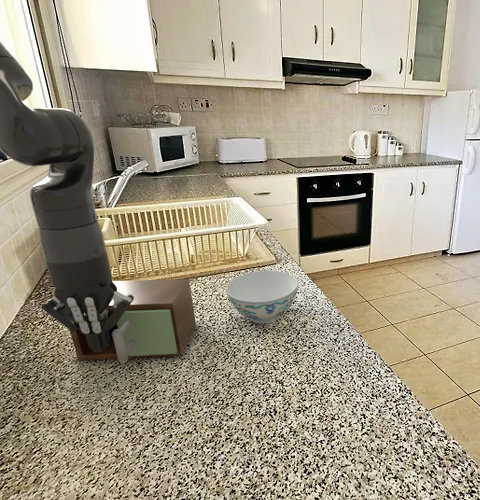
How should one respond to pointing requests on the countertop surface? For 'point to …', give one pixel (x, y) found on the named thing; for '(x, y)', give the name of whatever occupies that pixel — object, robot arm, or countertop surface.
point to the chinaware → (262, 294)
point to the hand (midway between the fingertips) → (100, 349)
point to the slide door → (144, 334)
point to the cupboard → (148, 298)
